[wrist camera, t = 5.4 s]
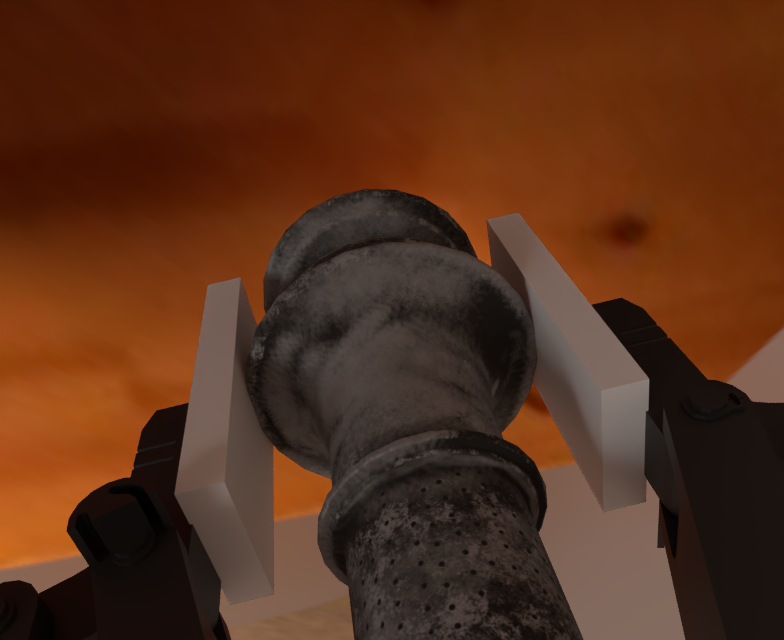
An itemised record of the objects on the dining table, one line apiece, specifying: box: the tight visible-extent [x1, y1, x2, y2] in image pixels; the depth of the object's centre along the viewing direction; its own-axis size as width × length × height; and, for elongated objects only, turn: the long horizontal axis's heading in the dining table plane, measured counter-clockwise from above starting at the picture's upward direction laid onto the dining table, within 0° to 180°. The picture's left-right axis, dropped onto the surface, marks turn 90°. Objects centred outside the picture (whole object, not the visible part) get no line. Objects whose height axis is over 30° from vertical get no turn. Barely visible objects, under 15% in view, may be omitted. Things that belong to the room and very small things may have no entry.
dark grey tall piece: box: [246, 189, 583, 640], centre depth 12 cm, size 6×6×12 cm
